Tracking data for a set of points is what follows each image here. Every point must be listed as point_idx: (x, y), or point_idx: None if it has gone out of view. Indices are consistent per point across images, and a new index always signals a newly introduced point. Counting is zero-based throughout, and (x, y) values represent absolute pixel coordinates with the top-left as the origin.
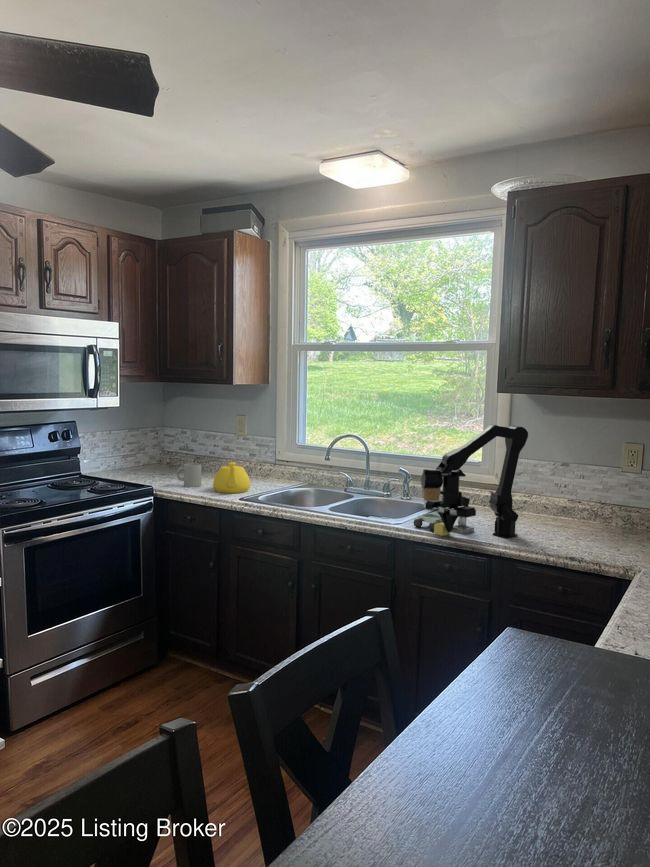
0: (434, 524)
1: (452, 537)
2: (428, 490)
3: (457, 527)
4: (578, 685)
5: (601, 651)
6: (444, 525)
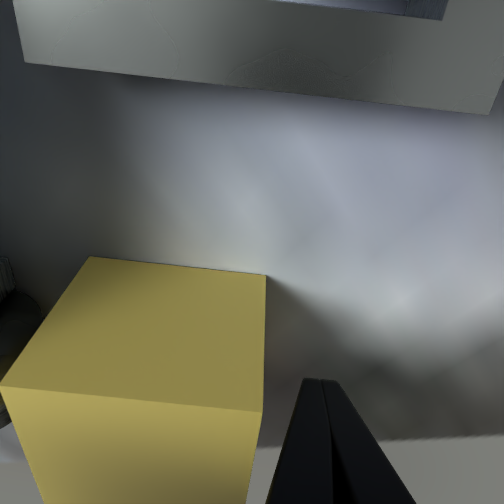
0: (56, 502)
1: (384, 369)
2: None
3: (238, 2)
4: None
5: None
6: (228, 497)
